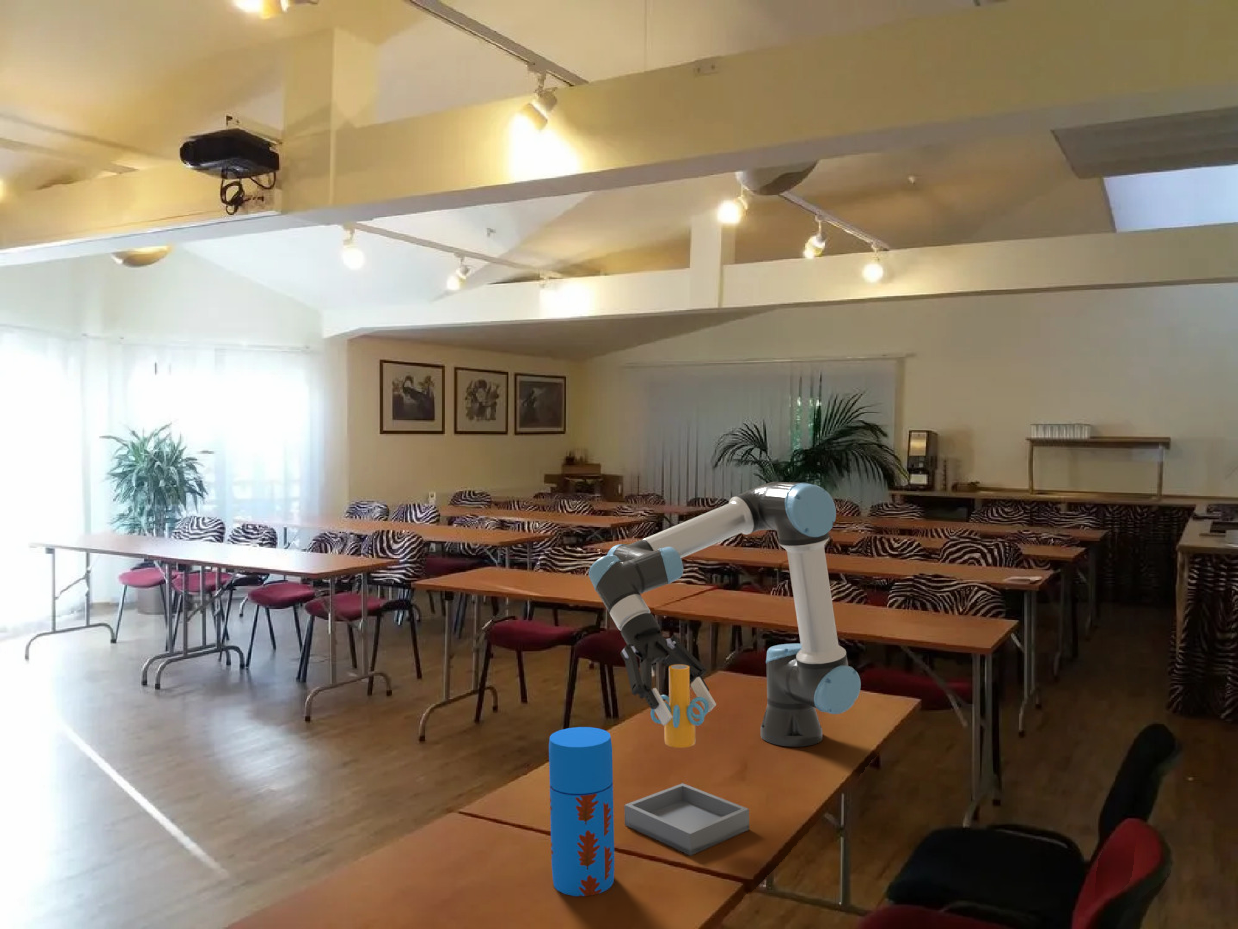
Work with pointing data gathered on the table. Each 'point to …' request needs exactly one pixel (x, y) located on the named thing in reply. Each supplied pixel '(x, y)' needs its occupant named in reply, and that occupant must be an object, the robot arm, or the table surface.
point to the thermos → (581, 810)
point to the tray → (686, 818)
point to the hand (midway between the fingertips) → (690, 715)
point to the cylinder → (681, 709)
